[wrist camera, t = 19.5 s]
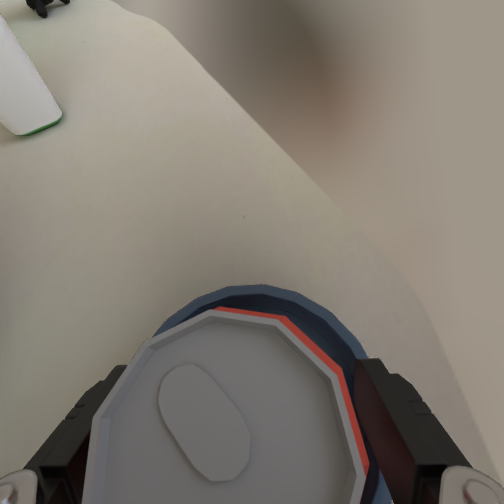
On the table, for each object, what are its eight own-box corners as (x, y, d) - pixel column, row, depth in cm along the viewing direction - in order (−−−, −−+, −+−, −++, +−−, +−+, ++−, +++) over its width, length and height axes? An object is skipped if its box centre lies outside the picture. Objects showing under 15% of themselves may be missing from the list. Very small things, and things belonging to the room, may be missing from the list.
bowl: (366, 335, 18) (398, 316, 13) (347, 597, 12) (390, 713, 8) (199, 292, 20) (179, 263, 15) (119, 496, 14) (52, 541, 10)
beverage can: (253, 334, 17) (226, 242, 7) (330, 414, 15) (468, 458, 5) (181, 408, 16) (0, 433, 5) (256, 512, 13) (201, 968, 3)
